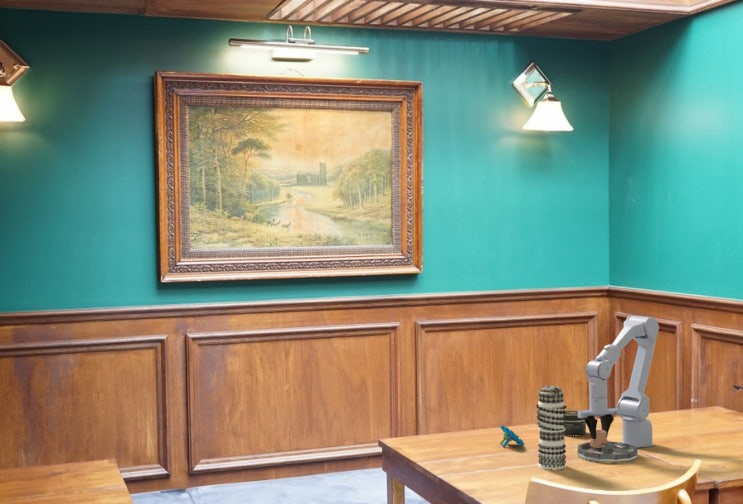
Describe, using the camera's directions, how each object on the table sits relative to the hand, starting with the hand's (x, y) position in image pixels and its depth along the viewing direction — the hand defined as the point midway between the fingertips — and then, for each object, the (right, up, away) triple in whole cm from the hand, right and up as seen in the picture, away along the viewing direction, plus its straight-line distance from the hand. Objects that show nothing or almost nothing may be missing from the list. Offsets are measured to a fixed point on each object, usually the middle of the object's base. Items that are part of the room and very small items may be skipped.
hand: (599, 438), depth 311 cm
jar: (-3, -5, +29) cm, 30 cm away
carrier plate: (+2, -5, -5) cm, 7 cm away
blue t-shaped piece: (-27, -5, +12) cm, 30 cm away
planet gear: (0, -3, 0) cm, 3 cm away
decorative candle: (-19, -6, -17) cm, 26 cm away
